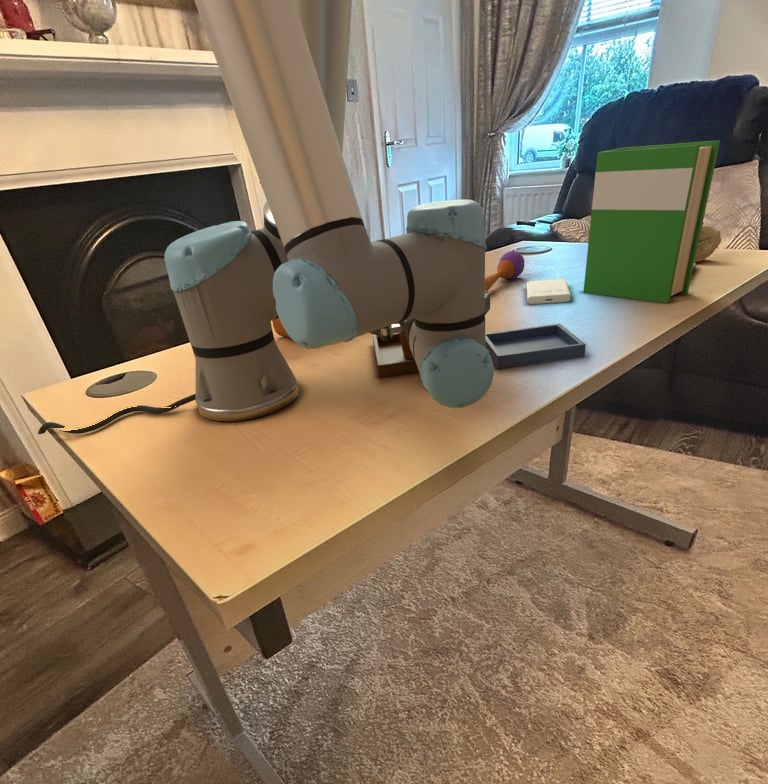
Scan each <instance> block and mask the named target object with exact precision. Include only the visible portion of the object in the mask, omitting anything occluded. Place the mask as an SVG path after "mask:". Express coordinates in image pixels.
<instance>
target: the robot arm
mask: <svg viewBox="0 0 768 784" xmlns="http://www.w3.org/2000/svg"><path fill="white" fill-rule="evenodd" d="M194 3H195V6H196V8H197V11H198V14H199V17H200V20H201V23H202V25H203V28H204V31H205V34H206V36H207V38H208V42H209V44H210V48H211V50H212V54H213V56H214V58H215V61H216V64H217V67H218V70H219V72H220V75H221V79H222V81H223V84H224V87H225V90H226V92H227V95H228V98H229V100H230V103H231V106H232V108H233V111H234V113H235V117H236V119H237V122H238V125H239V127H240V130H241V133H242V136H243V138H244V141H245V144H246V147H247V150H248V153H249V156H250V158H251V161H252V164H253V166H254V169H255V171H256V175H257V177H258V180H259V184H260V185H261V189H262V191H263V194H264V198H265V199H266V201H265V202H264V205H263V209H262V210H263V227H262V228H257V229H255V230H254V229H253V230H252V229H251V228H250V227H249V225H248V223H247V222H245V221H243V220H234V221H228V222H224V223H221V224H218V225H212V226H211V225H210V226H208V227H205V228H202V229H199V230H195V231H194V232H191V233H188V234H185V235H183V236H182V237H180V238H177V239H176V240H174V241H173V242H171V243H170V244H169V245H168V246H167V248H166V249H165V252H164V264H165V267H166V272H167V275H168V280H169V287H170V290H172V291H173V294H174V297H175V300H176V303H177V307H178V310H179V313H180V317H181V319H182V322H183V325H184V328H185V331H186V335H187V338H188V341H189V343H190V346H191V349H192V352H193V356H194V361H195V393H193V394H190V395H189V396H186V397H184V398H181V399H178V400H177V401H174V402H173V403H171V404H168V405H166V406H165V407H171V408H161V407H162V406H160V407H159V406H157V407H155V406H150V405H139V404H138V405H136V406H137V407H132V406H130V407H131V408H128V407H126V408H127V409H124V408H123V409H124V410H122V411H119V410H118V411H119V412H117V411H116V412H117V413H115V412H114V413H115V414H113V413H112V414H113V415H112V416H110V417H108V416H107V417H108V418H107V419H105V420H103V419H102V420H103V421H101V420H100V421H101V422H99V421H98V422H99V423H97V422H96V423H97V424H95V423H94V424H95V425H92V424H91V425H92V426H89V425H88V426H89V427H86V426H85V427H86V428H82V429H78V430H71V431H61V430H59V431H60V432H62V433H68V434H73V435H80V434H86V433H90V432H93V431H96V430H98V429H101V428H103V427H105V426H106V425H108V424H110V423H111V422H113V421H114V420H115V421H116V420H117V419H119V418H120V417H122V416H124V415H128V414H131V413H136V412H146V413H152V414H164V413H169V412H171V411H174V410H176V409H178V408H180V407H183V406H184V405H186V404H188V403H191V402H193V401H195V403H196V406H197V408H198V412H199V414H200V415H201V416H202V417H204V418H206V419H208V420H213V421H216V422H217V421H218V422H236V421H245V420H251V419H255V418H258V417H263V416H266V415H269V414H272V413H274V412H276V411H279V410H281V409H283V408H285V407H286V406H288V405H290V403H292V402H293V401H295V399H296V398H297V397H298V395H299V386H298V381H297V378H296V376H295V374H294V372H293V370H292V369H291V367H290V365H289V364H288V362H287V360H286V358H285V357H284V355H283V353H282V351H281V349H280V348H279V347H278V345H277V343H276V340H275V334H274V332H273V324H272V320H274V319H278V318H279V319H280V321H281V323H282V325H283V327H284V329H285V331H286V332H287V334H288V335H289V336H290V338H289V339H292V341H293V342H294V343H295V344H297V345H298V346H300V347H301V348H303V349H308V350H310V349H311V350H315V349H320V348H324V347H328V346H331V345H335V344H338V343H342V342H344V343H349V342H351V341H353V340H354V339H355V338H358V337H361V336H364V335H366V334H371V335H373V336H379V337H380V338H381V339H382V340H383V341H390V340H391V337H393V334H396V333H400V334H402V335H403V336H405V337H406V339H407V341H408V344H409V347H410V349H411V351H412V354H413V357H414V359H415V361H416V364H417V367H418V370H419V372H418V373H419V375H420V381H421V384H422V386H423V388H425V390H426V391H427V393H428V394H429V396H430V397H431V398H432V399H433V400H434V402H436V403H437V404H439V405H441V406H442V407H446V408H451V409H462V408H466V407H469V406H471V405H474V404H475V403H477V402H479V401H480V400H481V399H482V398H484V397H485V395H486V394H487V393H488V391H489V390H490V388H491V386H492V384H493V381H494V378H495V377H494V375H495V367H494V362H493V361H492V358H491V356H490V354H489V350H488V349H487V348H486V346H485V334H486V315H487V314H488V313H489V311H490V310H491V291H489V290H488V291H485V278H486V251H487V248H488V247H487V245H486V225H485V218H484V209H483V207H482V206H481V204H480V203H479V202H478V201H475V200H473V199H447V200H438V201H432V202H426V203H421V204H418V205H416V206H412V207H411V208H410V209H409V210H408V212H407V215H406V227H405V231H406V233H403V234H400V235H395V236H393V237H387V238H381V239H378V240H374V241H371V240H370V238H369V237H370V236H369V233H368V231H367V228H366V226H365V223H364V219H363V216H362V213H361V209H360V207H359V204H358V200H357V197H356V194H355V191H354V188H353V185H352V181H351V178H350V174H349V171H348V167H347V164H346V162H345V159H344V156H343V154H344V153H343V150H344V133H345V120H346V103H347V101H346V100H347V88H348V87H347V86H348V71H349V53H350V41H351V40H350V37H351V23H352V5H353V0H194ZM180 405H181V406H180ZM175 406H176V407H175ZM65 426H66V425H63V424H60V423H58V422H54V421H48V422H45V423H43V424H42V425H41V426H40V427H39V429H38V431H37V434H38V435H43V434H45V433H46V432H47V431H48V430H49V429H54V428H64V427H65Z"/></svg>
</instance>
